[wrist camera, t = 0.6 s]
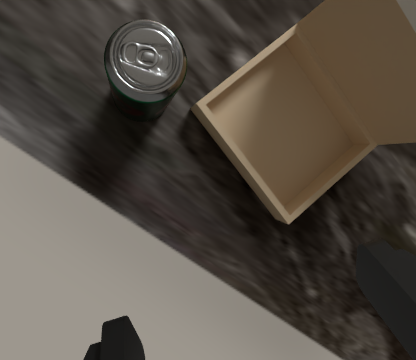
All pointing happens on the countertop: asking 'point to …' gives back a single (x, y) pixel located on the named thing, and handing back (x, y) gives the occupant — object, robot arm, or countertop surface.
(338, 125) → the mailer box
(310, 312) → the countertop surface
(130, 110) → the soda can
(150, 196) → the countertop surface
